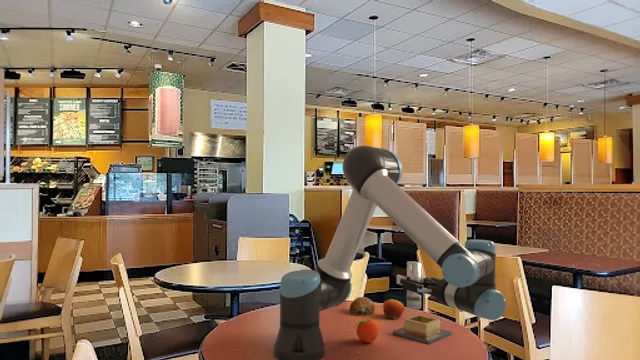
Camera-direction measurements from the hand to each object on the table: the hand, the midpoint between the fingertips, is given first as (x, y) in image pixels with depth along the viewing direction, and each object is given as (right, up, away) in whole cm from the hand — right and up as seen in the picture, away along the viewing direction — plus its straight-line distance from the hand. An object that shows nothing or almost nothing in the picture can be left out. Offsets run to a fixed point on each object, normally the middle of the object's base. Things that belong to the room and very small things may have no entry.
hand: (404, 278), depth 144 cm
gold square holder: (+7, -20, +5) cm, 22 cm away
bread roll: (-11, -21, +32) cm, 40 cm away
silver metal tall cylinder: (+2, -8, -5) cm, 10 cm away
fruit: (+1, -21, +26) cm, 33 cm away
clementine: (-13, -20, -3) cm, 24 cm away
